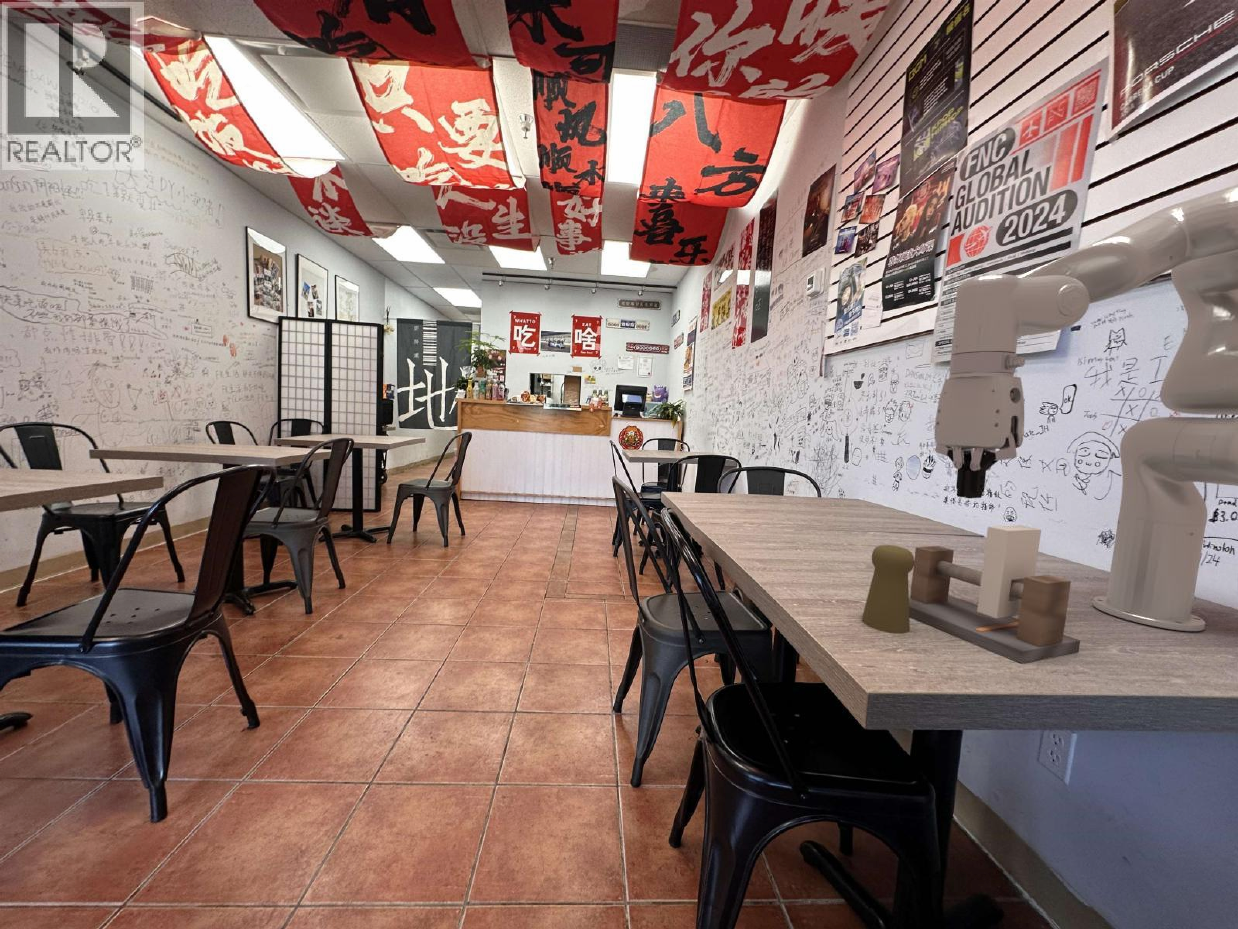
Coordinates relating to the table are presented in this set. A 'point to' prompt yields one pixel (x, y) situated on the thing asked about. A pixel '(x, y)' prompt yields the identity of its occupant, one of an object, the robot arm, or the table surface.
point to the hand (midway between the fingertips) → (969, 496)
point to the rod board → (1005, 636)
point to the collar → (1006, 567)
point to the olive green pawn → (889, 590)
